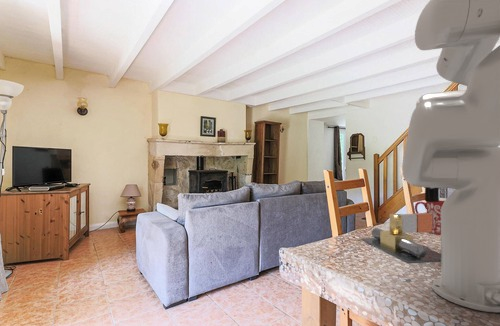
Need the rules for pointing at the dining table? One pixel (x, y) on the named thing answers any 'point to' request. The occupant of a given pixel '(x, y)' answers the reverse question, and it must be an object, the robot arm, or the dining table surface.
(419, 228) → the lever
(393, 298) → the dining table surface
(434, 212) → the mug
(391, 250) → the valve
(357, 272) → the dining table surface
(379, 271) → the dining table surface
